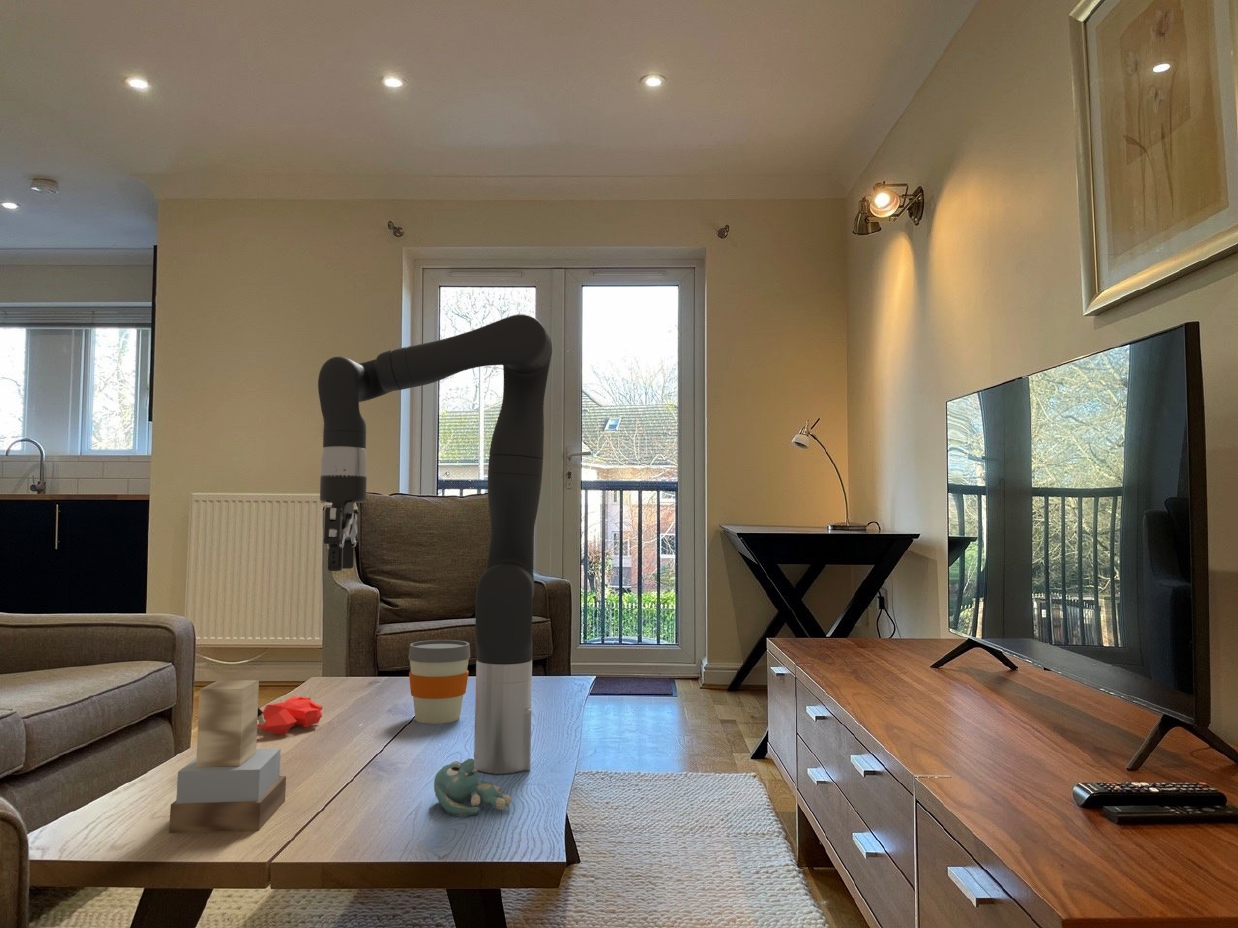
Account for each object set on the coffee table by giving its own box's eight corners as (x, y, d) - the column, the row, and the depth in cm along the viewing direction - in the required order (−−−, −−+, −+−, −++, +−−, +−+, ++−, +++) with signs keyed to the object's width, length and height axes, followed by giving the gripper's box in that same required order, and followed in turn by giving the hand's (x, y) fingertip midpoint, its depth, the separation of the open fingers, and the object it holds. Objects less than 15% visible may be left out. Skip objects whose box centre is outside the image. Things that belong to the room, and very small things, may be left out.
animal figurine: (246, 741, 145) (247, 712, 146) (267, 721, 160) (268, 695, 161) (313, 739, 148) (314, 711, 148) (327, 719, 162) (328, 694, 163)
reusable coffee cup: (454, 727, 157) (456, 649, 158) (394, 723, 159) (397, 647, 160) (477, 713, 169) (479, 641, 170) (422, 709, 171) (424, 638, 172)
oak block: (255, 753, 111) (258, 680, 112) (239, 765, 105) (242, 688, 106) (214, 753, 111) (218, 680, 112) (196, 766, 105) (199, 689, 106)
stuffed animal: (492, 785, 106) (420, 757, 111) (482, 838, 106) (410, 807, 111) (531, 764, 116) (464, 739, 120) (522, 812, 116) (455, 785, 120)
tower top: (279, 776, 114) (280, 748, 114) (258, 800, 104) (259, 769, 104) (204, 779, 112) (206, 750, 113) (176, 803, 102) (177, 771, 103)
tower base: (284, 804, 114) (286, 775, 114) (258, 834, 103) (260, 802, 103) (203, 806, 113) (205, 777, 113) (168, 836, 102) (170, 804, 102)
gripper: (357, 472, 131) (354, 571, 129) (374, 477, 145) (372, 567, 144) (309, 471, 130) (306, 572, 129) (331, 477, 144) (328, 567, 143)
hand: (341, 569), depth 136 cm, fingers open, 8 cm apart
